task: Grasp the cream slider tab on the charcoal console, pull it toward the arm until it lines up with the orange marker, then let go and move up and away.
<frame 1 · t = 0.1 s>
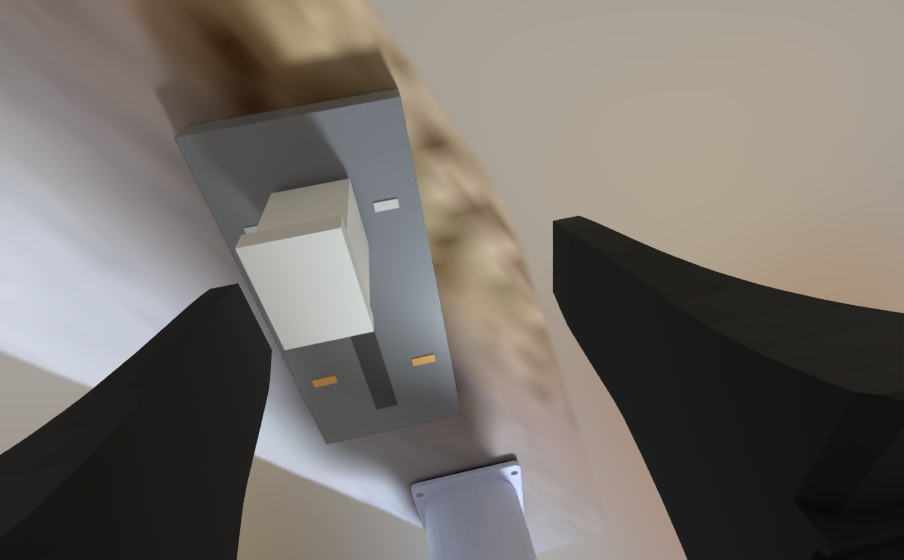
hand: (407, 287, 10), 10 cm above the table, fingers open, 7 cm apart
console: (355, 293, 22), on the table
fader tab: (317, 252, 16), point 4 cm above the table, slide at 0.0 cm
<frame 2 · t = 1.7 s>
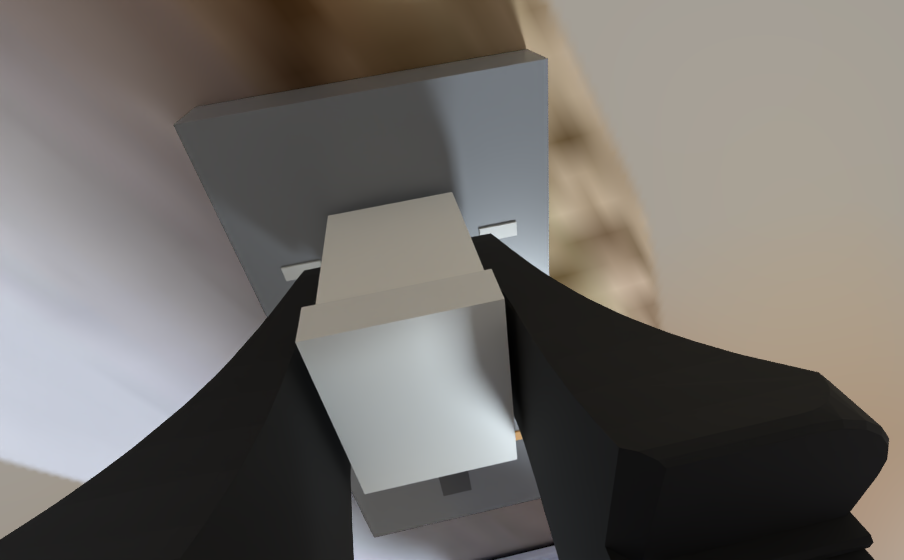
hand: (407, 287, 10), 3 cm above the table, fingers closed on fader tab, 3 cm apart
console: (426, 347, 16), on the table
fader tab: (411, 316, 10), point 4 cm above the table, slide at 0.0 cm, touching gripper
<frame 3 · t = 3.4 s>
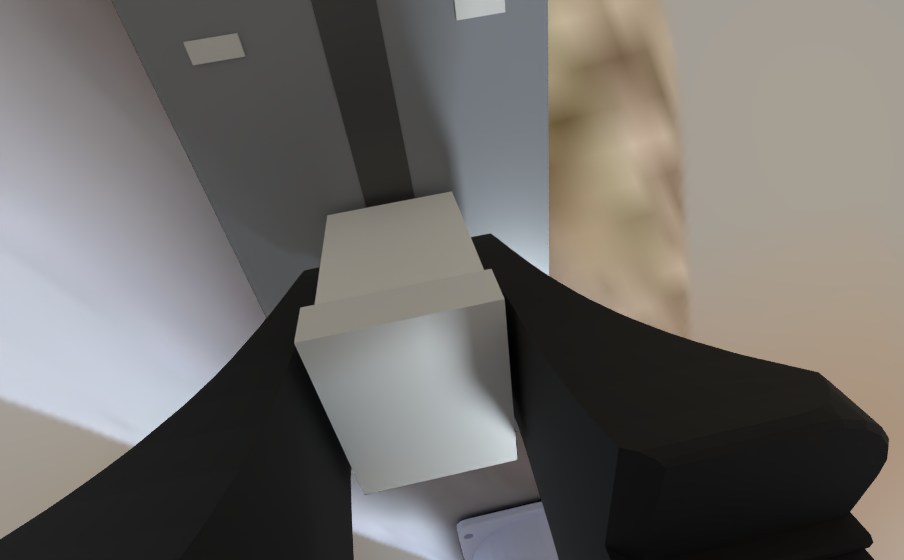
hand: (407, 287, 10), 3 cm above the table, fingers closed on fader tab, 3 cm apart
console: (396, 218, 13), on the table
fader tab: (411, 316, 9), point 4 cm above the table, slide at 5.2 cm, touching gripper
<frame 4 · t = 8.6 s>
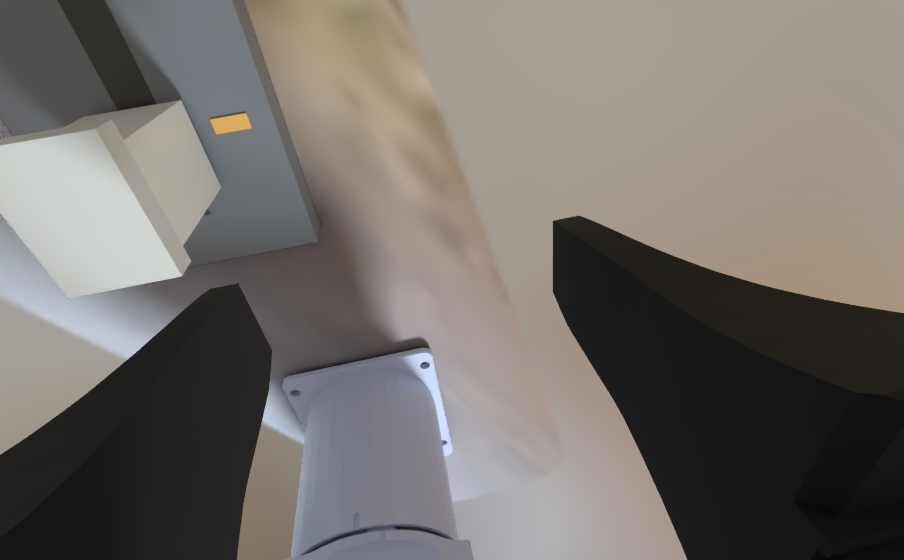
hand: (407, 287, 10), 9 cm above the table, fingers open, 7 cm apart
fader tab: (124, 182, 13), point 4 cm above the table, slide at 9.5 cm
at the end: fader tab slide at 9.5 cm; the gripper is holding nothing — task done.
